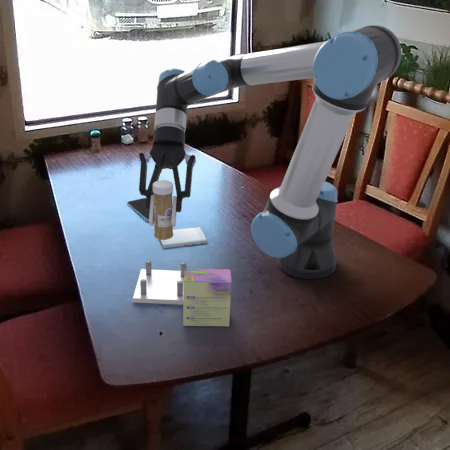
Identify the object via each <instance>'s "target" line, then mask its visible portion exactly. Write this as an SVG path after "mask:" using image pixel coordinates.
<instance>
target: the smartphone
mask: <svg viewBox="0 0 450 450" xmlns="http://www.w3.org/2000/svg"><path fill="white" fill-rule="evenodd" d="M126 205H128V207H129V208H130V209H131V210H133V211H134V212H135V213H136V214H137V215H138V216H139V217H141V219H143V220H144V221H145V222H147V223H149V214H150V211H147V210H146V207H145V206H146V197H141V198H137V199H133V200H129V201H127V202H126Z"/></svg>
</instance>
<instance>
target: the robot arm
mask: <svg viewBox="0 0 450 450" xmlns="http://www.w3.org/2000/svg"><path fill="white" fill-rule="evenodd" d="M399 40H400V39H399V38H398V37H397V35H396V34H395V33H394V32H393V31H391V30H390V29H389V28H387V27H384V26H382V25H377V24H376V25H375V24H374V25H366V26H363V27H361V28H358V29H354V30H352V31H343V32H340V33H339V34H336V35H334V36H332V37H331V38H330V39H328V40H326V41H320V42H313V43H307V44H301V45H294V46H288V47H283V48H277V49H270V50H269V49H268V50H264V51H263V50H262V51H257V52H251V53H238V54H234V55H230V56H229V57H225V58H222V59H218V60H217V59H216V60H215V59H210V60H207V61H204V62H200V63H199V64H197V65H196V66H194V67H192V68H191V69H188V70H186V71H184V70H182V69H180V68H177V67H176V68H167V69H164V70H162V71H161V72H160V74H159V77H158V82H157V87H156V89H157V90H156V91H157V92H156V103H155V104H156V105H155V114H154V115H155V116H154V125H153V129H154V131H153V138H152V147H151V149H150V151H149V152H148V151H147V152H145V153H144V152H140V153H138V157H139V161H140V170H139V184H138V191H139V194H140V195H141V196H142V197H143V196H144V197H145V198H146V206H145V207H146V210H147V211H150V214H149V222H148V224H149V226H150V227H153V226H154V194H153V183H154V182H156V181H159V179H160V175H161V173H162V172H163V170H164V169H169V170H172V173H173V182H174V186H175V191H176V192H175V193H176V195H174V196H173V195H172V205H173V206H172V219H171V224H172V227H173V228H176V226H177V225H176V223H177V213H181V212H182V206H183V199H185V198H190V197H191V192H192V183H193V182H192V181H193V170H194V169H193V168H194V166H195V165H196V162H197V160H196V155H194V154H191V155H190V154H188V153H186V150H185V145H186V144H185V143H186V133H185V132H186V128H187V116H188V115H187V114H188V107H189V106H190V105H193V104H196V103H197V102H200V101H203V100H205V99H207V98H210V97H213V96H216V95H218V94H221V93H225V92H227V91H230V90H233V89H237V88H242V87H250V86H256V85H265V84H272V83H281V82H289V81H297V80H307V79H314V81H313V84H312V87H311V90H312V92H313V94H314V97H315V100H314V102H313V104H312V107H311V110H310V111H309V112H310V113H309V115H308V117H307V120H306V121H305V124H304V127H303V130H302V132H301V134H300V137H299V139H298V142H297V145H296V147H295V150H294V152H293V154H292V157H291V160H290V162H289V165H288V168H287V169H286V173H285V174H284V178H283V180H282V182H281V183H280V184H281V185H280V186H279V187H275V188H274V189H273V190H272V191H271V192H270V194H269V197H268V199H267V201H266V205H265V207H264V209H263V211H262V212H259V213H257V215H256V216H255V217H254V218H252V219H253V220H252V221H251V224H250V233H251V236H252V239H253V241H254V243H255V245H256V246H257V247H258V248H259V249H260V250H261V251H262V252H263V253H265V254H266V255H268V256H269V257H272V258H276V259H277V265H278V267H279V268H280V269H281V271H282V272H284V273H286V274H287V275H290V276H292V277H295V278H299V279H306V280H318V279H324V278H327V277H329V276H331V275H333V273H334V272H335V270H336V267H337V256H336V253H335V248H334V247H335V246H334V244H333V243H334V242H333V234H334V228H335V220H336V212H337V206H338V205H337V204H338V201H339V200H338V194H339V193H338V189H337V187H336V186H334V185H333V184H332V183H330V182H328V181H326V179H327V178H328V175H329V173H330V171H331V169H332V165H333V163H334V162H335V160H336V156H337V155H338V153H339V151H340V149H341V146H342V144H343V141H344V139H345V137H346V135H347V132H348V129H349V128H350V126H351V123H352V122H353V119H354V116H355V114H357V113H360V112H362V111H365V109H366V108H367V106H368V103H369V102H370V100H371V97H372V95H373V93H374V91H375V89H376V87H377V86H378V84H379V83H382V82H384V81H385V80H388V79H389V78H390V77H391V76H392V75H393V74H394V73H395V72H396V71H397V69H398V68H399V65H400V64H401V59H402V46H401V44H400V41H399ZM150 159H151V160H153V162H154V163H155V164H154V168H153V171H152V174H151V177H150V180H149V183H148V186H147V178H148V175H147V174H148V164H149V163H150ZM184 160H185V164H186V171H185V182H184V183H185V184H184V190H182V185H181V181H180V174H179V167H178V166H179V165H180V164H181V163H182V162H183V161H184Z"/></svg>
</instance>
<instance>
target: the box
mask: <svg viewBox="0 0 450 450" xmlns="http://www.w3.org/2000/svg"><path fill="white" fill-rule="evenodd" d="M231 271H232V270H231V269H225V268H223V269H220V268H186V269H185V270H184V290H183V305H182V307H183V308H182V309H183V311H182V312H183V313H182V317H183V318H182V325H183V326H184V327H225V328H226V327H227V328H228V327H230V324H231V323H230V321H231V318H230V317H231V303H232V301H231V300H232V273H231Z"/></svg>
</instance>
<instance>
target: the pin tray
mask: <svg viewBox="0 0 450 450" xmlns="http://www.w3.org/2000/svg"><path fill="white" fill-rule="evenodd" d="M185 269H187V262H185V261H182V262H180V270H170V269H169V270H168V269H153V268H152V261H151V260H146V261H145V268H141V269H140V272H139V276H138V280H137V283H136V287H135V289H134V294H133V297H132V303H136V304H137V303H139V304H158V305H159V304H161V305H180V306H181V305H182V306H183V290H184V270H185Z"/></svg>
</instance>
